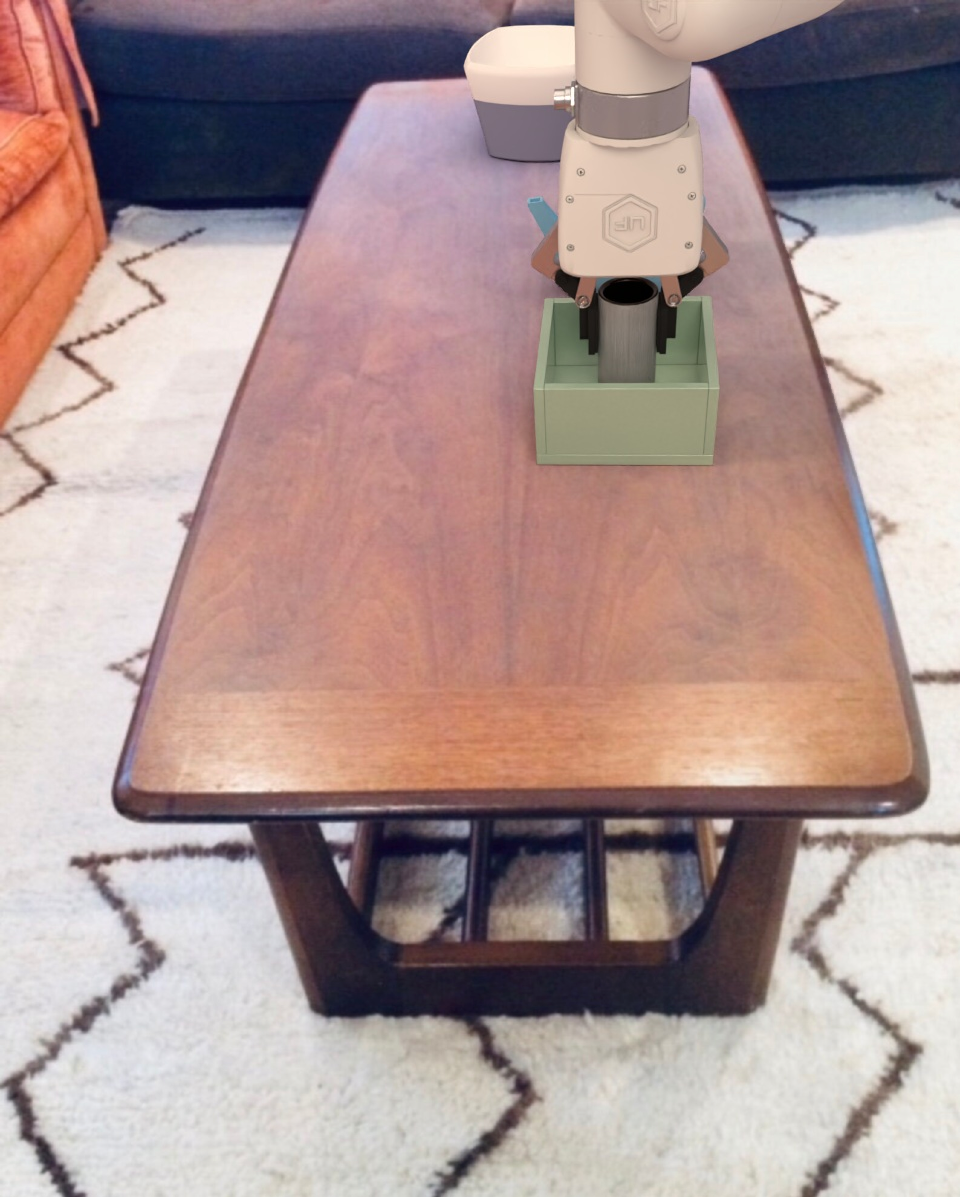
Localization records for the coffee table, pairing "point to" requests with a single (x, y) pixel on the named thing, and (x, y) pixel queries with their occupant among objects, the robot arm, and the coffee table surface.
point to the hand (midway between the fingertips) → (627, 343)
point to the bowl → (522, 89)
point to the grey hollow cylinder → (627, 330)
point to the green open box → (626, 396)
